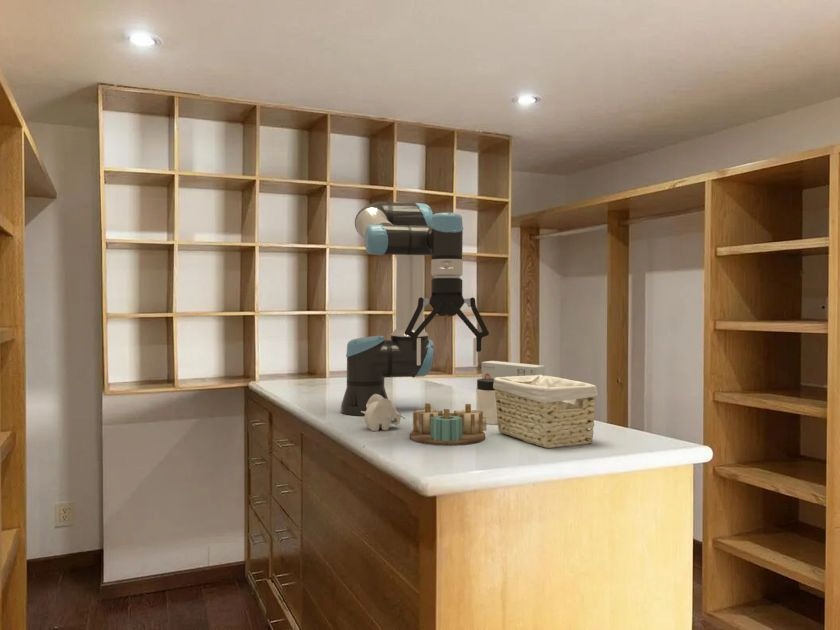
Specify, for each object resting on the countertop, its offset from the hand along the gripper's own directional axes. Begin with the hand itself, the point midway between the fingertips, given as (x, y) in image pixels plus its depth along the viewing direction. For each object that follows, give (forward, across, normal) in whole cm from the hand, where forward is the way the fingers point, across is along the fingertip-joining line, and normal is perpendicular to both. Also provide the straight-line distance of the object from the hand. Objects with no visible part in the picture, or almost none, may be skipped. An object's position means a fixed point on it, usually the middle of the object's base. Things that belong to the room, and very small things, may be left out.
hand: (446, 365), depth 168 cm
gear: (+18, 0, 0) cm, 18 cm away
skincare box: (+19, +18, +40) cm, 48 cm away
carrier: (+19, 0, +6) cm, 19 cm away
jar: (+19, +11, +29) cm, 37 cm away
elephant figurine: (+19, -18, +16) cm, 31 cm away
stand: (+19, +7, +18) cm, 27 cm away
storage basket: (+19, +24, +6) cm, 31 cm away
